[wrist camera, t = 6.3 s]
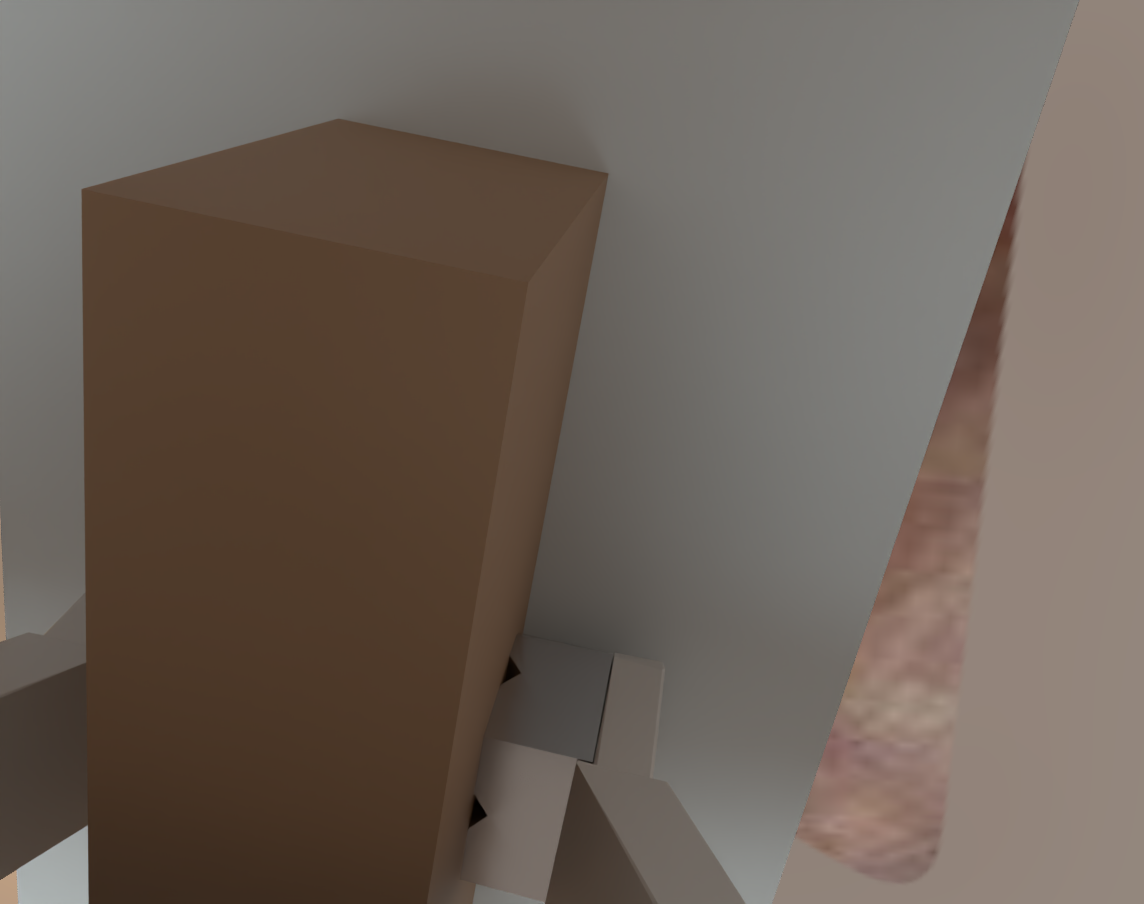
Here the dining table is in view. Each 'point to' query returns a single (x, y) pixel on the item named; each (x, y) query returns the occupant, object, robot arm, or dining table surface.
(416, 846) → the lid
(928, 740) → the dining table surface
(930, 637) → the dining table surface
